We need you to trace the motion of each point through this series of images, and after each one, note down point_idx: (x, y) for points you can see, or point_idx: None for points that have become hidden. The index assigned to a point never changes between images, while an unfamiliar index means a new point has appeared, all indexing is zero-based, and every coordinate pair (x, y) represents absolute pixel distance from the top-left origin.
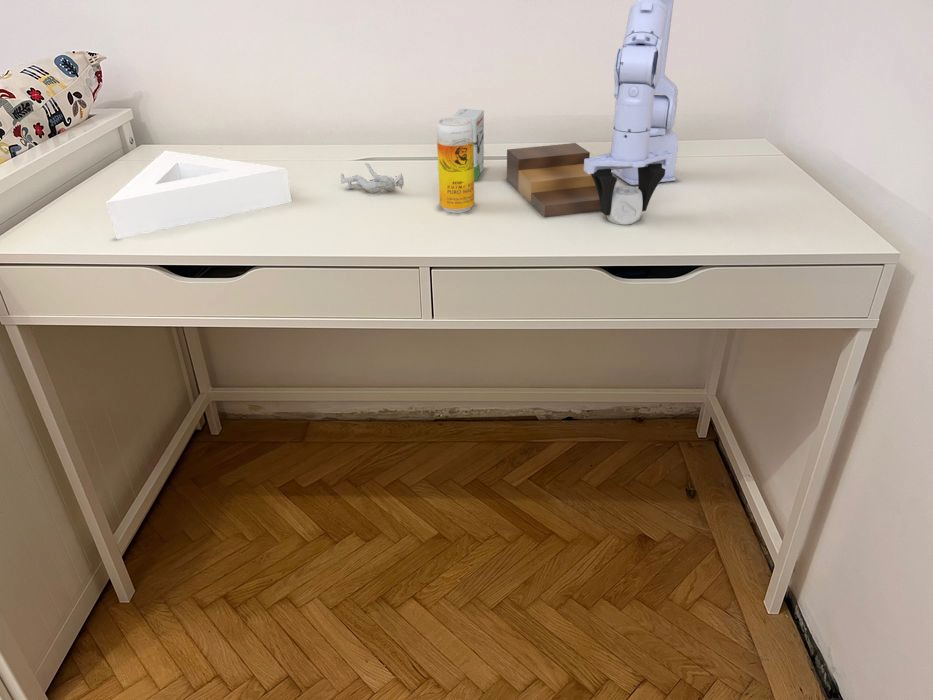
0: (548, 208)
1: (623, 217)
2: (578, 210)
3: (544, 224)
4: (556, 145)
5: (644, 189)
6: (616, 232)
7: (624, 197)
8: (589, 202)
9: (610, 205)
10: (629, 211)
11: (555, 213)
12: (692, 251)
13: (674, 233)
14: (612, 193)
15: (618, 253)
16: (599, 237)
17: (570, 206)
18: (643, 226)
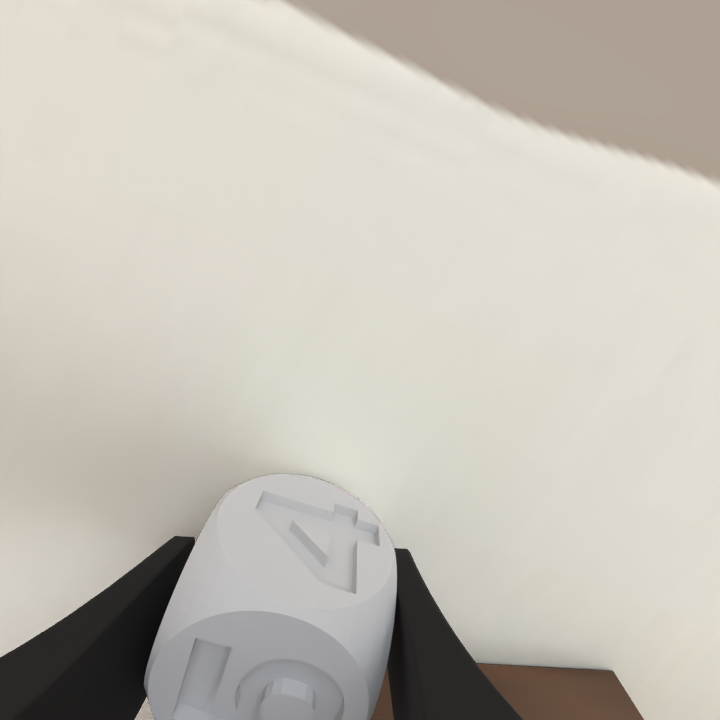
0: (621, 714)
1: (329, 504)
2: None
3: (660, 604)
4: None
5: (110, 673)
6: (408, 412)
7: (323, 603)
8: None
9: (402, 587)
10: (289, 523)
11: (567, 679)
12: (149, 15)
13: (132, 296)
14: (416, 663)
15: (553, 154)
16: (520, 385)
17: None
18: (243, 432)
